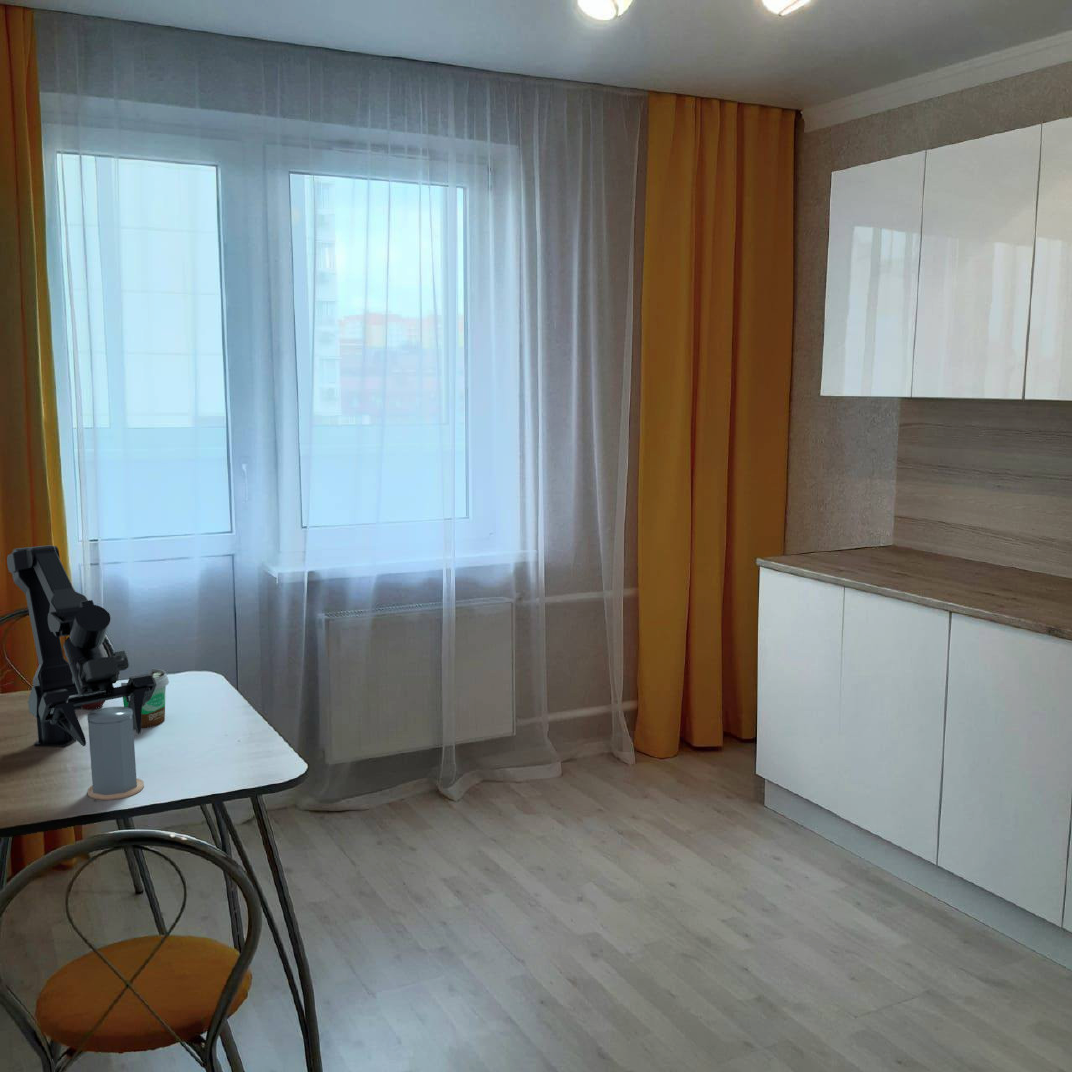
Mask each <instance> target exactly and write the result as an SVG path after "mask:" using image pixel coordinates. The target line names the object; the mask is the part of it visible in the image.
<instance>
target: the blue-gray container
mask: <svg viewBox="0 0 1072 1072" xmlns="http://www.w3.org/2000/svg"><path fill="white" fill-rule="evenodd" d="M132 716H133V710H132V709H131V708H128V707H124V706H108V707H107V706H106V707H102V708H101V707H100V708H96V709H93V710H92V711H90V712H89V713H87V715H86V718H87V719H86V720H87V726H88V727H87V729H88V738H89V742H88V743H89V753H90V754H89V755H90V756H89V757H90V767H91V770H90V771H91V782H92V783H91V785H93V793H96V794H102V795H112V794H119V793H125V792H127V791H129V790H131V789H133V788H136V787H137V779H138V778H137V768H136V767H137V764H136V752H135V751H136V750H135V738H134V737H135V734H134V730H133V718H132ZM136 778H137V779H136Z"/></svg>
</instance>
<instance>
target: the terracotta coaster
mask: <svg viewBox="0 0 1072 1072" xmlns="http://www.w3.org/2000/svg"><path fill="white" fill-rule="evenodd" d="M136 779H137V787H136V788H133V789H131V790H129V791H127V792H125V793H119V794H112V795H102V794H96V793H93V784H91V786H90V787H88V789H87V796H88V797H90V798H91V799H94V800H101V801H111V800H113V801H114V800H118V799H123V798H128V797H131V796H134V795H136V794H138V793H140V792H141V791H142V790H143V789H144V788H145V786H144V785H145V782H144V781H143V779H140V778H137V777H136Z"/></svg>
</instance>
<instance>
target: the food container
mask: <svg viewBox="0 0 1072 1072" xmlns="http://www.w3.org/2000/svg"><path fill="white" fill-rule="evenodd" d="M149 674H150V675H151V676H153V677H154V679H155V682H156V687H155V690H154V692H153V695H152V697H151V699H150V700H149V701H147V702H146V703H145V705H144V706H142V715H141V730H144V729H150V728H153V727H158V726H159V725H162V724H163V723H165V720H166V686H168V685H169V683H170V681H169V677H168V675H167V673H166V671H165V670H163V669H161V668H153V667H151V672H150V673H149ZM127 683H128V682H120V686H125V685H127ZM122 700H123V701H122V702H123V707H128V704H129V703H128V702H127V701H126V698H125V697H122ZM133 731H135V729H134V726H133Z"/></svg>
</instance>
